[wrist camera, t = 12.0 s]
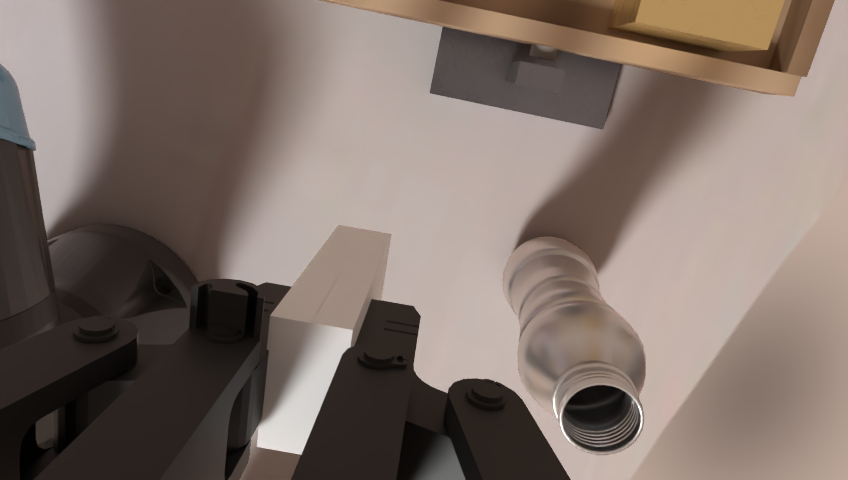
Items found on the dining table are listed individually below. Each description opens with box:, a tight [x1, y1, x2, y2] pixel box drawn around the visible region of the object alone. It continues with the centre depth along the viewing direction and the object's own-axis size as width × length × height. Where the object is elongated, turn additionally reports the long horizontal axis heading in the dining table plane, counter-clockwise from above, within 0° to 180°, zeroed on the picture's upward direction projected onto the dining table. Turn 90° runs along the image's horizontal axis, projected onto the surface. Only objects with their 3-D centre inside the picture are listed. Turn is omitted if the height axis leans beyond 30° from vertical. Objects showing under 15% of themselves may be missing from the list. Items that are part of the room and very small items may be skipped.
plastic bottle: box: [503, 236, 646, 455], centre depth 36 cm, size 6×7×20 cm
